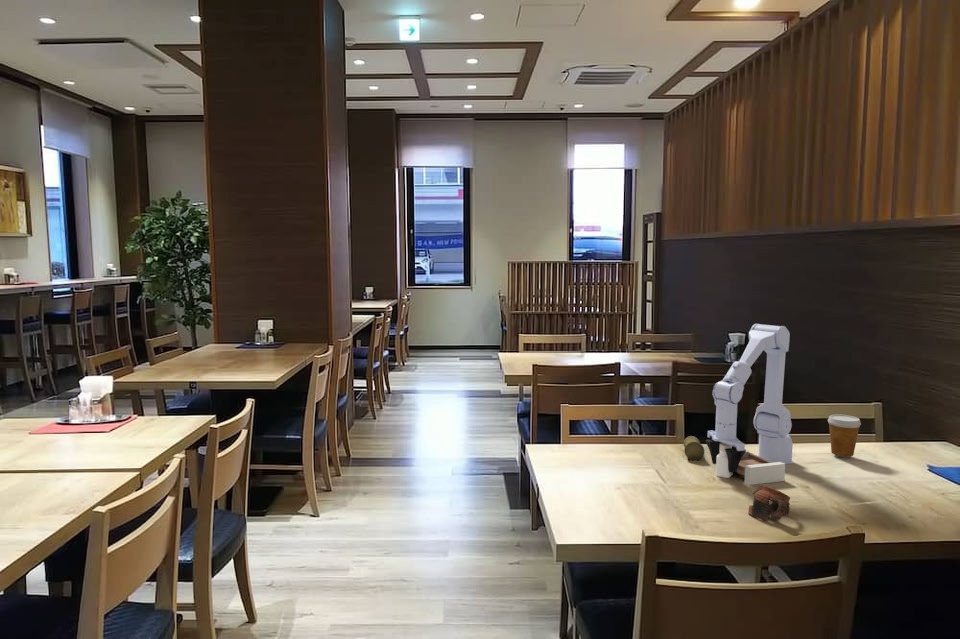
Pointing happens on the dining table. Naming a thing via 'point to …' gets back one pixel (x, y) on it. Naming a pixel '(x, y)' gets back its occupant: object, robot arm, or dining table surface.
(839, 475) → the dining table surface
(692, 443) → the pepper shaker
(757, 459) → the brown wooden square tray
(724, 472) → the pepper shaker
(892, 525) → the dining table surface
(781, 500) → the pottery mug
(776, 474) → the block
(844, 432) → the disposable coffee cup
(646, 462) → the dining table surface
